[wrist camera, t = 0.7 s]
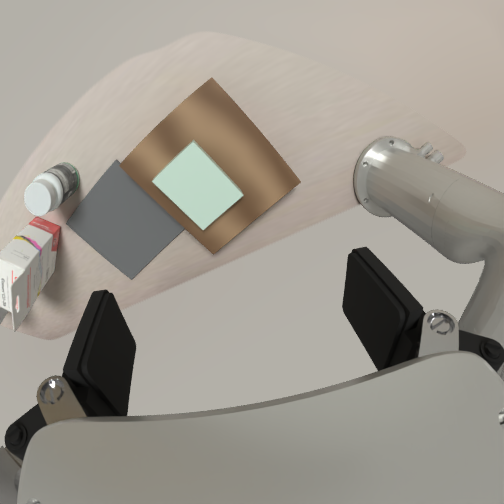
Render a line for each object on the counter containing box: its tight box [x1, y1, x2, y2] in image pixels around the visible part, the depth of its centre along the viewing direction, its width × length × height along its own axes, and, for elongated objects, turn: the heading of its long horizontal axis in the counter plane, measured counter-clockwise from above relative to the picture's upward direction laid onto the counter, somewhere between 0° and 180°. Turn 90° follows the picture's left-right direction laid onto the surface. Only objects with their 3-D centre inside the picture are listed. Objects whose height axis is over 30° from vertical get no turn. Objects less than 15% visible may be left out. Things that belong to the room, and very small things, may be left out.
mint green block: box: [152, 140, 243, 230], centre depth 31 cm, size 6×8×2 cm
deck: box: [119, 78, 301, 255], centre depth 33 cm, size 14×16×4 cm
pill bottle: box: [24, 162, 79, 216], centre depth 28 cm, size 5×5×8 cm
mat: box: [66, 160, 185, 280], centre depth 36 cm, size 12×13×1 cm
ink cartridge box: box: [0, 217, 60, 332], centre depth 29 cm, size 9×5×15 cm, turn 152°
